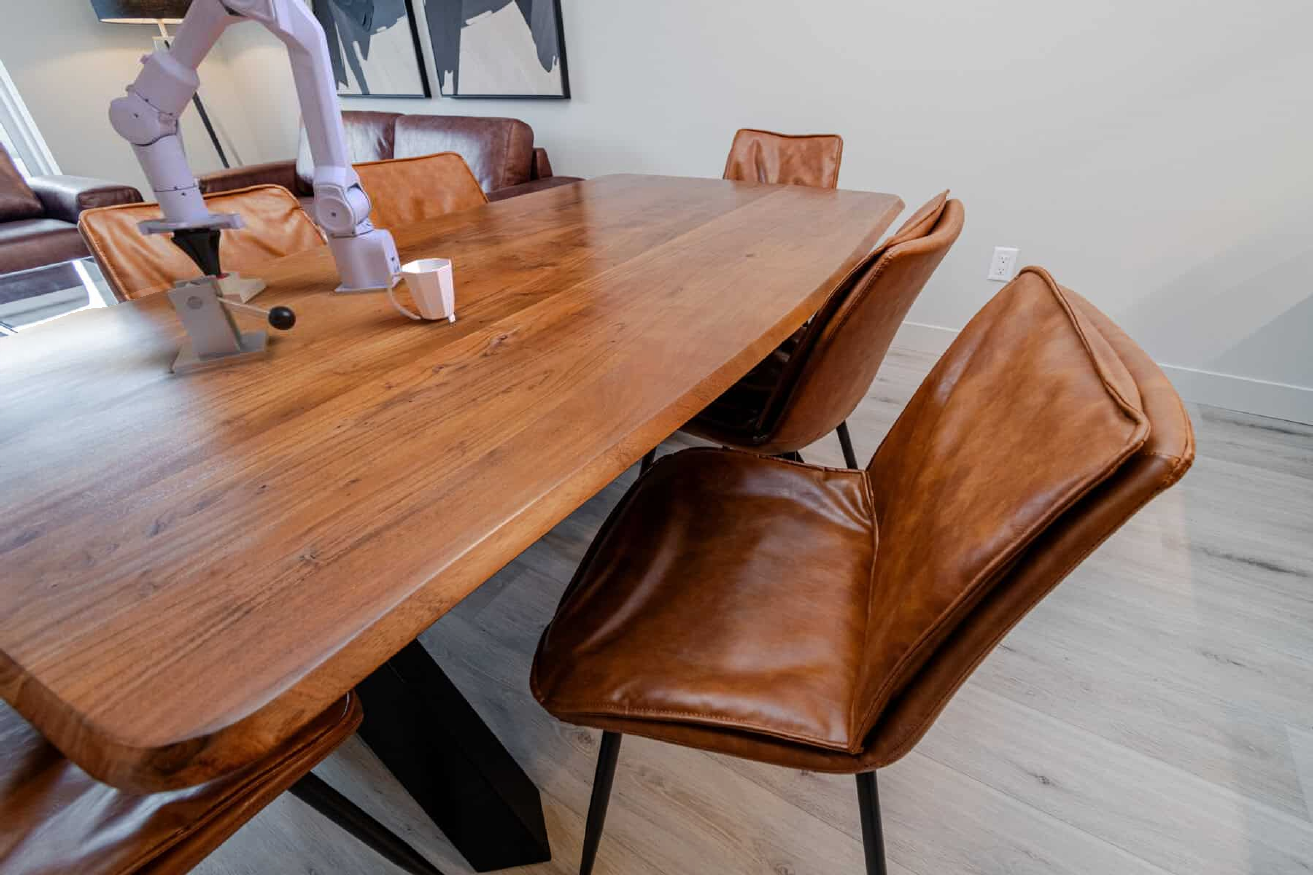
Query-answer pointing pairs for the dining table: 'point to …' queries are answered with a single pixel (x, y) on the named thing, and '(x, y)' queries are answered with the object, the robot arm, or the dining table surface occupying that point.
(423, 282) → the cup
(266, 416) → the dining table surface
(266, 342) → the bracket
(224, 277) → the button
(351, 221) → the robot arm
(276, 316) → the lever
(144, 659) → the dining table surface
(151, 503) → the dining table surface
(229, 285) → the control block
